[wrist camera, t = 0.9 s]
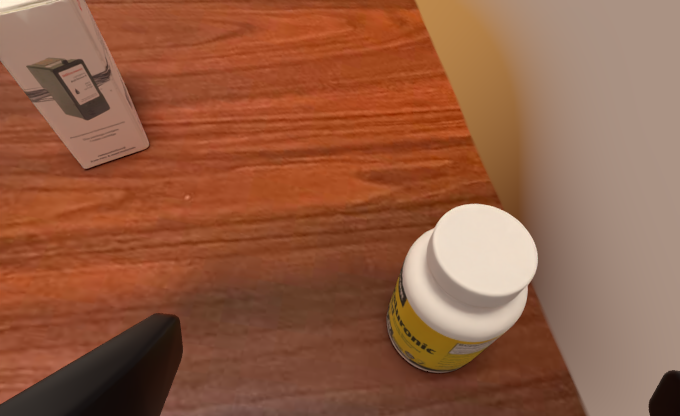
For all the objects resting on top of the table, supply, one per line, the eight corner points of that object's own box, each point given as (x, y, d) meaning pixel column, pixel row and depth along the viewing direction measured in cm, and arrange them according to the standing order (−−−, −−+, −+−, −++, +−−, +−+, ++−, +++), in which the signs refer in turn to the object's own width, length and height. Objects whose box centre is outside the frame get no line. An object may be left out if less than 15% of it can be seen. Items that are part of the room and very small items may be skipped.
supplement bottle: (372, 295, 25) (395, 202, 17) (454, 273, 26) (514, 176, 18) (404, 388, 22) (450, 331, 14) (495, 360, 23) (590, 291, 15)
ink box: (63, 99, 33) (-45, -61, 24) (126, 81, 35) (48, -77, 25) (82, 172, 29) (-39, 15, 19) (153, 148, 31) (72, -9, 21)
